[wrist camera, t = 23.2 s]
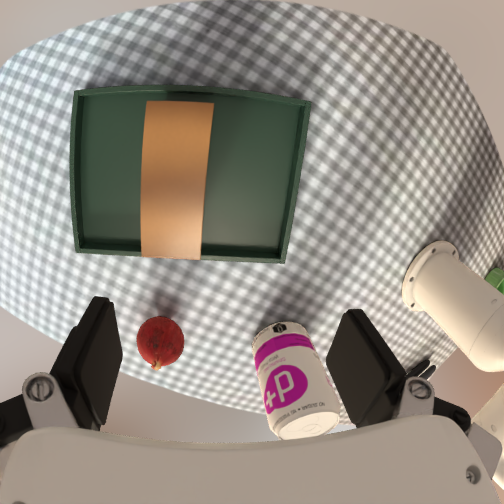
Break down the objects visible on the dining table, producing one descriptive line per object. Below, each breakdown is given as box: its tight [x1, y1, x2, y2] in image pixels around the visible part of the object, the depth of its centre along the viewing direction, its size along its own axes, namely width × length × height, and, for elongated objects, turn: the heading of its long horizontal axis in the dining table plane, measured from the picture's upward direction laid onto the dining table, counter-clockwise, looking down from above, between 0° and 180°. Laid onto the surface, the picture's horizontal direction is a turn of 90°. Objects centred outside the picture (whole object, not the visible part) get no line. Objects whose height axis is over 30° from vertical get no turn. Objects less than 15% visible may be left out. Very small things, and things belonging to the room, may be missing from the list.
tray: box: [70, 85, 312, 264], centre depth 26 cm, size 23×17×2 cm
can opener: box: [405, 360, 436, 380], centre depth 48 cm, size 18×7×6 cm, turn 116°
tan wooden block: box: [141, 101, 214, 260], centre depth 23 cm, size 13×5×6 cm, turn 173°
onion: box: [136, 316, 184, 370], centre depth 31 cm, size 6×6×8 cm
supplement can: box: [252, 322, 341, 440], centre depth 32 cm, size 8×8×15 cm
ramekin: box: [485, 268, 504, 295], centre depth 42 cm, size 9×9×4 cm
